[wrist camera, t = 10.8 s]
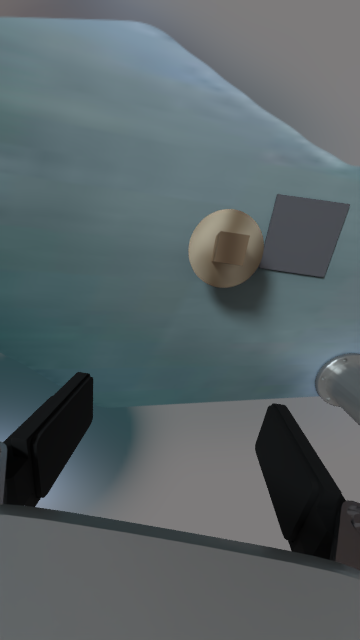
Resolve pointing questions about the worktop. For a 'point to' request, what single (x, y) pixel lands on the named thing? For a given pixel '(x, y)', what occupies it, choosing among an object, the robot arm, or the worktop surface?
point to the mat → (302, 235)
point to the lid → (226, 248)
